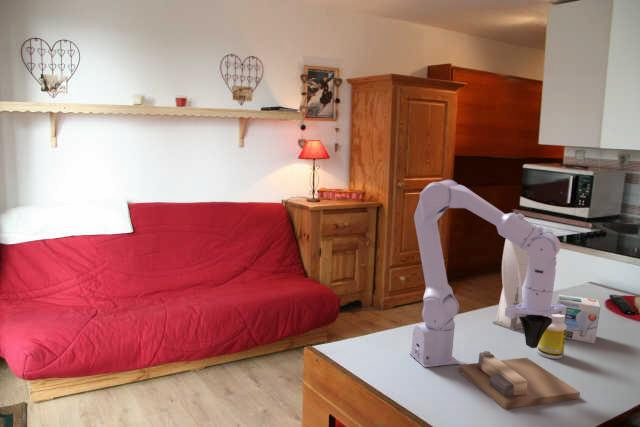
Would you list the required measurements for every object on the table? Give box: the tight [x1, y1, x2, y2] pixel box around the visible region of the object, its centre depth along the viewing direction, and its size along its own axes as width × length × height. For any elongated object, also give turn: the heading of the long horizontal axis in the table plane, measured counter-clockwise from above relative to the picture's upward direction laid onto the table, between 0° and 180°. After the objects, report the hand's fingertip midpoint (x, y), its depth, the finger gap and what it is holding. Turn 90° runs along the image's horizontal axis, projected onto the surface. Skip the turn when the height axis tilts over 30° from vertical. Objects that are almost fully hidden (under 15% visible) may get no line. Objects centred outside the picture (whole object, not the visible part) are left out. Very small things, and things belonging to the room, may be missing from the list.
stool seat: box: [458, 357, 581, 410], centre depth 115 cm, size 19×17×4 cm
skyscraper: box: [492, 238, 529, 332], centre depth 151 cm, size 8×8×28 cm
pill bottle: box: [536, 314, 567, 360], centre depth 132 cm, size 6×6×11 cm
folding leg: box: [477, 350, 528, 396], centre depth 114 cm, size 14×3×4 cm, turn 16°
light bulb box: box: [556, 293, 602, 344], centre depth 145 cm, size 11×7×11 cm, turn 68°
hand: (531, 346), depth 114 cm, fingers closed
